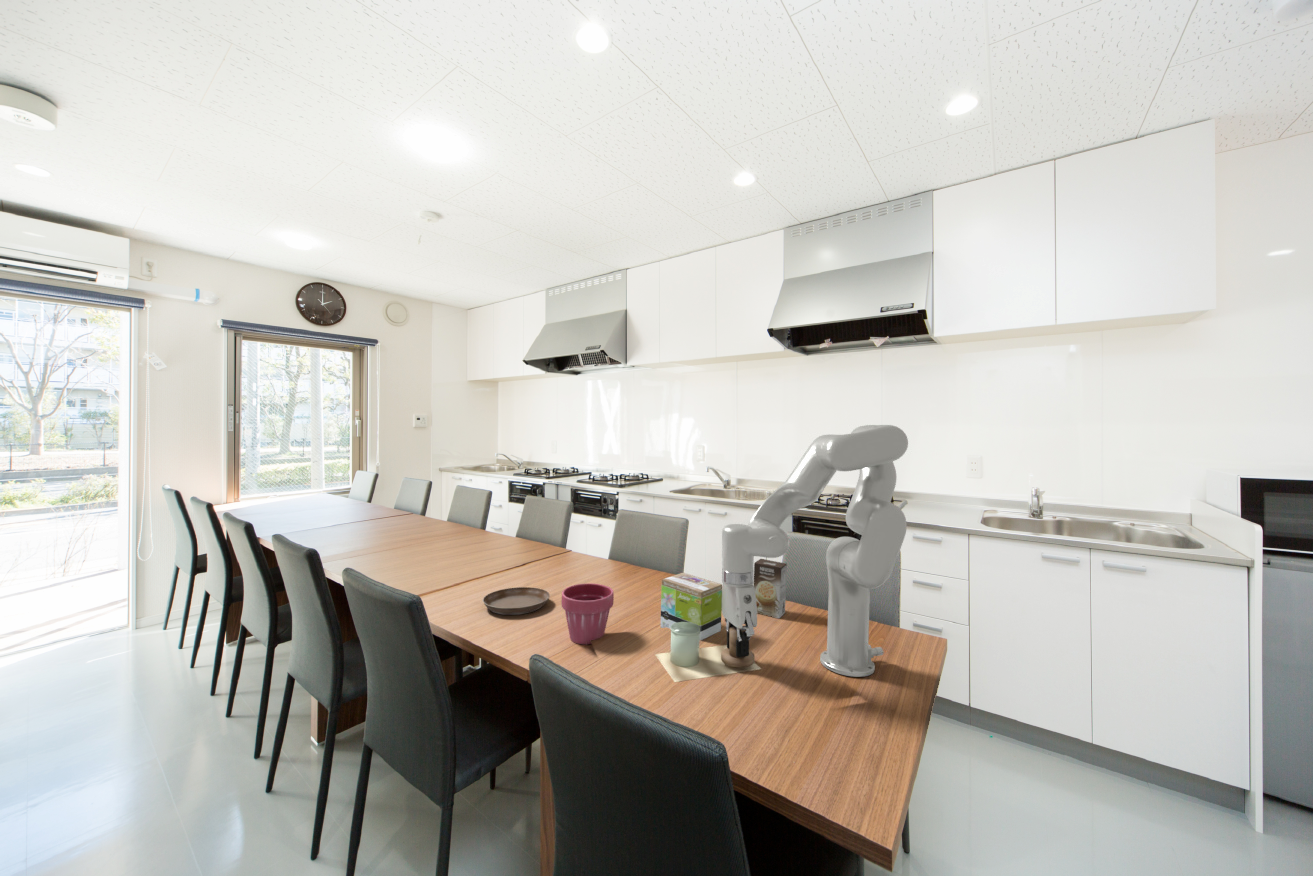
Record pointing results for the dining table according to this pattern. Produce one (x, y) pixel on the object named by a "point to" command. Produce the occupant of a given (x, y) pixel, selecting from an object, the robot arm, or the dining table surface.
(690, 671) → the board
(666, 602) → the tea box
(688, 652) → the jar
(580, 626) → the plant pot
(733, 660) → the lid
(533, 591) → the plant saucer
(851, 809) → the dining table surface
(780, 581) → the coffee box
